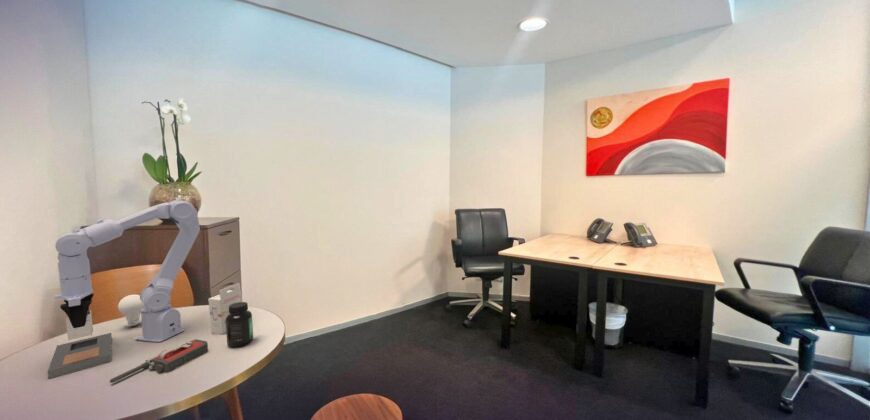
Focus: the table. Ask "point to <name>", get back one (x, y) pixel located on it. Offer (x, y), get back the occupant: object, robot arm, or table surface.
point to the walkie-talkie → (170, 358)
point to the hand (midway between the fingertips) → (80, 324)
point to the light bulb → (131, 309)
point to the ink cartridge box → (223, 307)
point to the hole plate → (80, 355)
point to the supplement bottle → (239, 325)
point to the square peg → (80, 328)
